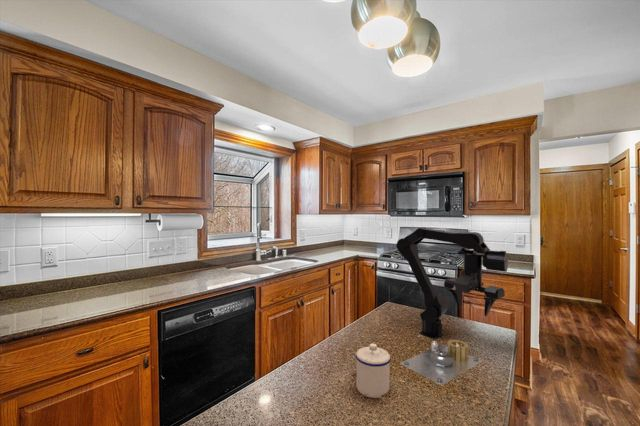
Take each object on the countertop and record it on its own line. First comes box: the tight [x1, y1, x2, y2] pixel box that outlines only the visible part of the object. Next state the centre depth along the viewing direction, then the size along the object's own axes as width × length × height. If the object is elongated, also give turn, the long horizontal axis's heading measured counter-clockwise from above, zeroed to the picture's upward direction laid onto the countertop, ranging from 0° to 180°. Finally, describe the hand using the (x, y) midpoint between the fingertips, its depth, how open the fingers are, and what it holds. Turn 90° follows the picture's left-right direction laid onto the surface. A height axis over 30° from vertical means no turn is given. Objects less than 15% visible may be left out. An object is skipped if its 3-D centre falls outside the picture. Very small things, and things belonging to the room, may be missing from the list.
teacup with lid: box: [354, 343, 391, 399], centre depth 79 cm, size 12×9×12 cm
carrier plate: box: [399, 339, 484, 386], centre depth 90 cm, size 14×23×4 cm, turn 126°
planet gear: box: [447, 339, 469, 361], centre depth 94 cm, size 6×6×4 cm
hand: (472, 312), depth 103 cm, fingers open, 9 cm apart
